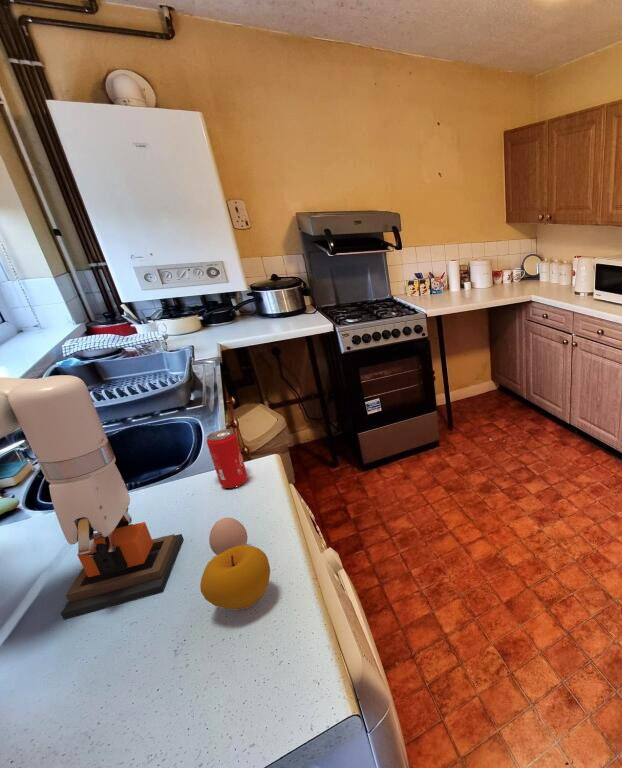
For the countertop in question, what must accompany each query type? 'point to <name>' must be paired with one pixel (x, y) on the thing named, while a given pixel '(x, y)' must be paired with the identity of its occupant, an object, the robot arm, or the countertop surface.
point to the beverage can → (227, 458)
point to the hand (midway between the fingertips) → (121, 557)
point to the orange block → (124, 547)
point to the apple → (236, 578)
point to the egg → (227, 535)
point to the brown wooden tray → (124, 580)
